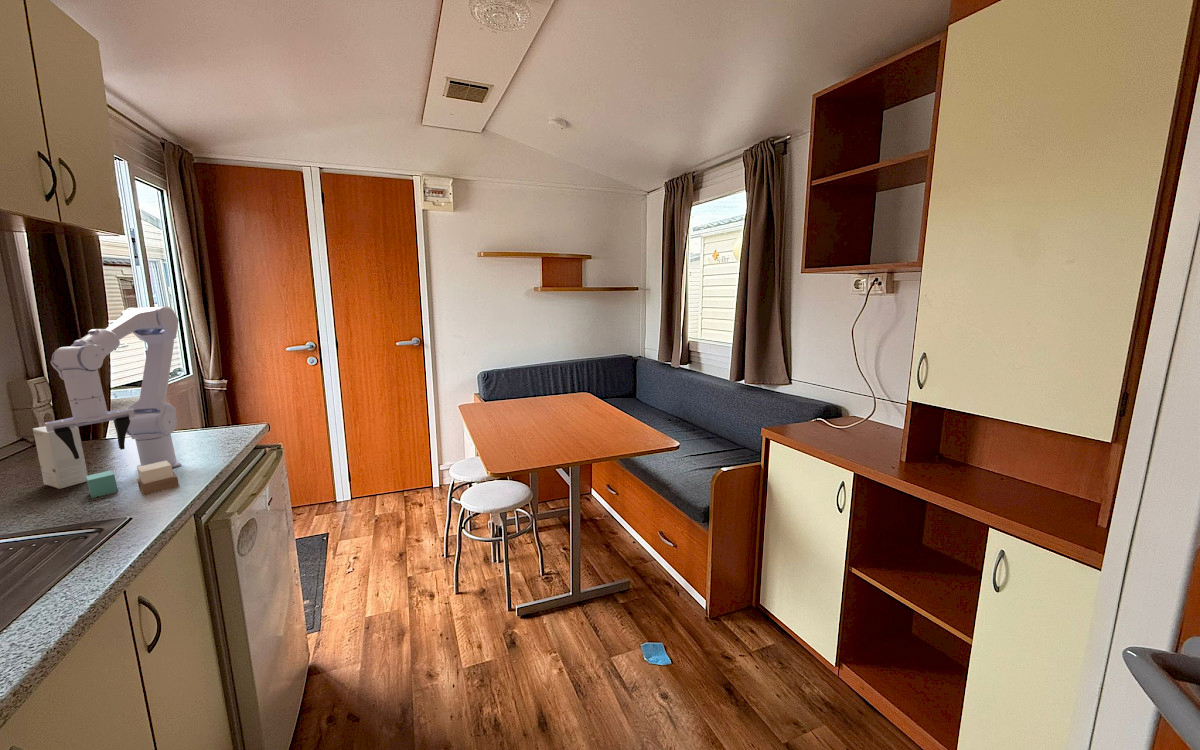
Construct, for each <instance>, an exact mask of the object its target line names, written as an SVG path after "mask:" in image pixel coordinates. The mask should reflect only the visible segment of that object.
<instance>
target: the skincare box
mask: <svg viewBox="0 0 1200 750" xmlns="http://www.w3.org/2000/svg"><path fill="white" fill-rule="evenodd" d="M70 429H71V432H72V434H73V439H74V443H75V447H76V449H77V452H78V454H79V459H75V458H74V456H73V453H72V452H71V450H70V449H69V447H68V446H67V445H66V444H65V443H64V442H63V441H62V440H61V439H60V438H59V437H58V436H57V435H56V434H55V432H54V431H52V432H47V430H46V426H40V427H34V428H32V432H33V436H34V442H35V446H36V451H37V456H38V462H39V465H40V472H41V475H42V476H41V477H42V480H43V482H42V483H43V484H44V485H45V486H50V487H53V488H56V489H58V490H59V489H64V488H68V487H71V486H75V485H79V484H82V483H86V482H87V480H86V476H88V470H87V469H88V468H87V465H86V460H85V455H84V454H85V453H84V449H83V445H82V439H81V435H80V429H79V426H77V427H72V428H70Z"/></svg>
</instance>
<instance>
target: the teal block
mask: <svg viewBox="0 0 1200 750" xmlns="http://www.w3.org/2000/svg"><path fill="white" fill-rule="evenodd" d="M86 480H87V481H86V482H87V487H88V491H89V495H90V498H91V499H94V498H98V497H97V496H99V497H102V495H103V496H105V495H106V494H107V495H110V493H111V494H115V493H118V492H119V489H118V485H117V479H116V476H115V473H114V472H113V470H107V471H102V472H99V473H98V472H97V473H93V474H90V475H88V476H86ZM114 492H115V493H114Z"/></svg>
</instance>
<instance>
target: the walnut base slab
mask: <svg viewBox="0 0 1200 750" xmlns="http://www.w3.org/2000/svg"><path fill="white" fill-rule="evenodd" d="M173 476H174V477H170V478H166V479H162V480H158V481H154V482H150V483H146V484H143V483H142V481H141V480H140V479H139V478H137V479H136V481H137V485H138V490H139V489H140V490H139V491H140V492H141V494H142V495H143V496H144V495H145V496H149V495H152V494H151V493H153V494H155V493H154V492H157V493H159V492H158V491H160V492H163V491H162V490H164V491H168V490H172V489H175V487H176V488H178V486H179V487H180V484H179V479H178V476H177V474H175V472H173ZM171 488H172V489H171ZM167 489H168V490H167ZM148 494H149V495H148Z"/></svg>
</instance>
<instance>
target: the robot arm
mask: <svg viewBox="0 0 1200 750" xmlns="http://www.w3.org/2000/svg"><path fill="white" fill-rule="evenodd" d="M178 325H179V318H178V316H177V315H176V312H175V311H174V310H173V309H172V308H171V307H170V306H167V305H166V306H165V305H164V306H158V307H157V306H152V307H150V306H148V307H128V308H126V309H125V310H122V311H121V312H120V316H119V318H118V319H116V320H114V322H112V323H111V324H110V325H109V326H107V327H106V328H92V329H90V330H88V331H87V332H88V333H87V334H86V335H84V336H83V337H81V338H80V339H76V340H74V341H73V343H72V344H71V345H70V346H61V347H59V348H57V349H55V351H54V352H53V353H52V355H51V360H50V364H51V366H52V369H54V370H56V372H57V373H58V376H59V378H60V379H61V380H62V381H64V387H65V390H66V394H67V398H68V401H69V402H68V403H69V406H70V410H71V415H72V417H66V418H63V419H58V420H52V421H48V422H44V425H45V426H46V430H47V432H52V431H54V432H55V434H56V435H57V436H58V437H59V438H60V439H61V440H62V441H63V442H64V443H65V444H66V445H67V446H68V447H69V449H70V450H71V452H72V453H73V456H74V458H75V459H79V454H78V452H77V449H76V447H75V443H74V439H73V434H72V432H71V429H70V428H72V427H83V426H88V425H93V424H100V423H106V422H111V421H113V423H114V428H115V431H116V432H115V433H116V436H117V443H118V444H117V445H118V447H119V449H120V450H125V444H126V443H125V441H126V436H127V435H128V436H129V437H131V439H132V440H135V445H136V450H137V454H138V458H139V462H140V464H137V465H136V468H137V467H140V466H144V465H148V464H153V463H157V462H161V461H166V460H167V461H168V462H169V463H170V464H171V466H172V468H177V467H179V466H182V463H181V462H180V461H179V460H178V459H177V457H176V453H175V452H176V451H175V447H174V443H173V437H172V434H173V433H174V431H175V429H176V428H177V425H178V419H177V413H176V411H177V408H176V407H175V406H174V405H172V404H171V403H170V402H168V401H167V400H166V399H167V394H168V388H169V381H170V380H169V379H170V374H171V367H172V361H173V360H172V359H173V353H174V352H173V351H174V347H175V346H174V345H175V339H176V338H177V333H178V327H179V326H178ZM130 334H134V336H136V338H138V340H140V341H143V342H146V344H147V349H146V350H147V351H146V356H145V363H144V369H143V375H142V381H141V386H140V387H141V389H140V393H139V399H138V400H137V401H136V402H133V404H131V405H130V406H128V408H127V409H119V410H109V411H108V407H107V404H106V400H105V394H104V391H103V386H102V383H101V382H102V381H101V378H100V373H99V369H101V367H102V366H103V364H104V359H106V357H107V356H108V355H109V354H111V353H112V352H114V351H115V350H116V349H118V348H119V347H120V344H121V342H120V340H121V339H123V338H125V337H127V336H128V335H130ZM45 426H44V427H45Z"/></svg>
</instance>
